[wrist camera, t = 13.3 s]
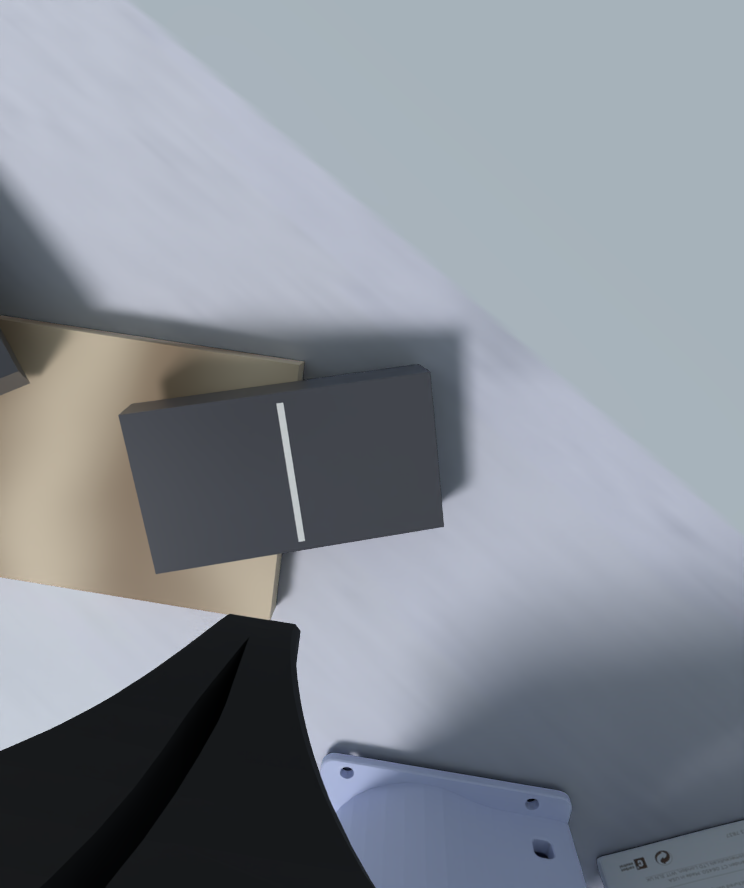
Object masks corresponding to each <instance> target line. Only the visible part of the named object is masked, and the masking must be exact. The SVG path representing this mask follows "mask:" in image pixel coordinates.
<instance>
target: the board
mask: <svg viewBox="0 0 744 888" xmlns="http://www.w3.org/2000/svg"><path fill="white" fill-rule="evenodd" d="M0 328H1V330H2V332H3V334H4V336H5V338H6V340H7V341H8V343H9V345H10V347H11V349H12V351H13V352H14V354H15V356H16V358H17V360H18V362H19V363H20V365H21V367H22V369H23V371H24V373H25V374H26V376H27V378H28V380H29V382H30V383H29V384H27V385H25V386H22V387H20V388H17V389H15V390H12V391H10V392H8V393H5V394H3V395H0V577H2V578H8V579H14V580H21V581H27V582H33V583H39V584H45V585H51V586H57V587H63V588H69V589H75V590H81V591H88V592H94V593H100V594H106V595H112V596H118V597H124V598H130V599H136V600H142V601H149V602H155V603H161V604H167V605H173V606H179V607H185V608H191V609H197V610H203V611H209V612H216V613H222V614H235V615H241V616H247V617H253V618H260V619H266V620H270V619H271V617H272V614H273V612H274V610H275V607H276V600H277V591H278V583H279V574H280V566H281V557H282V554H276V555H270V556H263V557H257V558H251V559H245V560H239V561H233V562H227V563H221V564H215V565H209V566H203V567H197V568H191V569H185V570H179V571H173V572H167V573H161V574H156V573H155V569H154V565H153V560H152V556H151V552H150V548H149V543H148V539H147V535H146V531H145V527H144V522H143V518H142V514H141V510H140V505H139V501H138V497H137V493H136V488H135V484H134V480H133V476H132V471H131V467H130V463H129V459H128V454H127V450H126V446H125V442H124V438H123V433H122V429H121V425H120V421H119V416H118V415H119V414H120V413H121V412H122V411H124V410H125V409H126V408H127V407H128V406H129V405H131V404H133V403H140V402H148V401H155V400H162V399H170V398H177V397H184V396H191V395H199V394H206V393H213V392H220V391H228V390H235V389H242V388H250V387H257V386H264V385H271V384H279V383H286V382H293V381H301V380H302V379H303V370H304V361H297V360H291V359H284V358H278V357H271V356H265V355H258V354H252V353H245V352H238V351H232V350H225V349H219V348H212V347H206V346H199V345H193V344H186V343H180V342H173V341H166V340H160V339H153V338H147V337H140V336H134V335H127V334H121V333H114V332H108V331H101V330H94V329H88V328H81V327H75V326H68V325H62V324H55V323H49V322H42V321H36V320H29V319H22V318H16V317H9V316H3V315H0Z"/></svg>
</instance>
